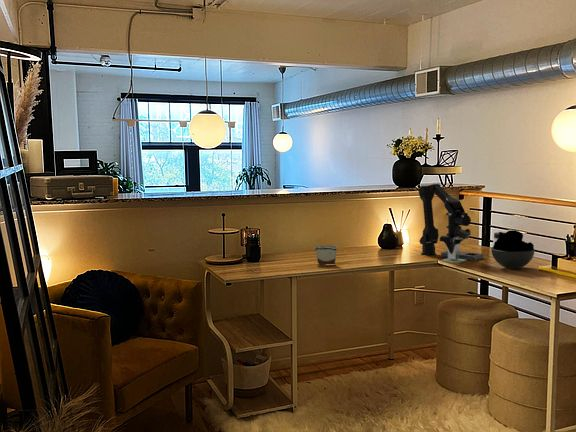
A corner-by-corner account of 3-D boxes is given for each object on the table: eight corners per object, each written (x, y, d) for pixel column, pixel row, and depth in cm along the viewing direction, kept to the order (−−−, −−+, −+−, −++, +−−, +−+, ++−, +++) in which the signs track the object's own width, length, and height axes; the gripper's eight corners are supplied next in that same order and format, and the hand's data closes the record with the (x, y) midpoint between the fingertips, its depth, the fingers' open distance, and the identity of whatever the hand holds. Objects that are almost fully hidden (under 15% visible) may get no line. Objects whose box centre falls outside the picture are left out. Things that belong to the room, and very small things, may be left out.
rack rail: (440, 257, 315) (440, 252, 315) (450, 254, 322) (450, 250, 322) (473, 261, 301) (473, 256, 300) (483, 258, 307) (483, 253, 307)
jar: (502, 256, 312) (503, 234, 310) (490, 254, 318) (490, 233, 317) (512, 254, 317) (513, 233, 315) (500, 252, 323) (500, 231, 322)
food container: (340, 263, 306) (339, 245, 305) (337, 265, 300) (337, 247, 299) (318, 262, 310) (318, 244, 309) (315, 265, 304) (314, 246, 303)
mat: (441, 260, 305) (441, 259, 305) (449, 258, 310) (449, 257, 310) (458, 262, 298) (458, 262, 298) (466, 260, 303) (466, 259, 303)
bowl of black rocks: (530, 264, 287) (530, 228, 285) (538, 273, 267) (538, 233, 265) (488, 264, 291) (488, 228, 289) (493, 272, 272) (493, 233, 270)
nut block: (447, 258, 304) (447, 244, 303) (452, 257, 307) (452, 242, 306) (455, 259, 301) (455, 244, 300) (459, 258, 304) (459, 243, 303)
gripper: (458, 227, 290) (458, 257, 291) (476, 223, 302) (476, 252, 304) (439, 225, 298) (439, 254, 299) (457, 222, 310) (457, 250, 312)
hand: (453, 252), depth 303 cm, fingers closed on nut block, 4 cm apart
